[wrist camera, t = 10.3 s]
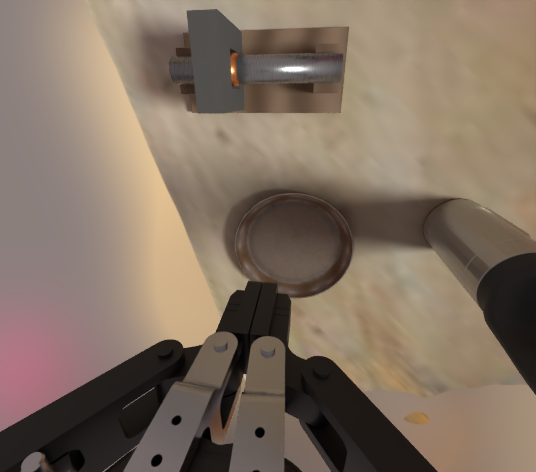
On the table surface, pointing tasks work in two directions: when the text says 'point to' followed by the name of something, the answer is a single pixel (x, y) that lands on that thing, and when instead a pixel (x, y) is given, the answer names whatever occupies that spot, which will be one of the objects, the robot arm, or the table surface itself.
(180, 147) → the table surface
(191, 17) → the collar
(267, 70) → the pipe
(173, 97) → the table surface
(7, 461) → the robot arm
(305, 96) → the pipe stand
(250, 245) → the plant saucer
